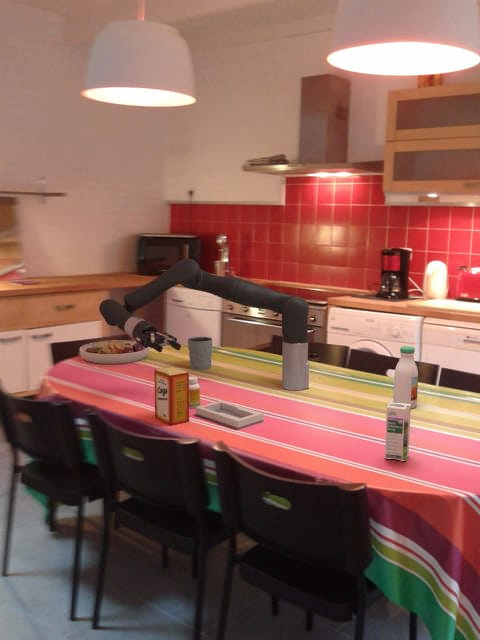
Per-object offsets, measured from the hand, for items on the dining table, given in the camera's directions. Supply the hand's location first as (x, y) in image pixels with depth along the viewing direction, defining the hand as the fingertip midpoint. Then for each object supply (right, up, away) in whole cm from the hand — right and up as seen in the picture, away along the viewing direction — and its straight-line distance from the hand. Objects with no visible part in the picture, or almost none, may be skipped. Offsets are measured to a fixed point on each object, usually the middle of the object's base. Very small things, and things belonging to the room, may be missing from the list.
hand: (170, 348), depth 226 cm
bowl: (-32, -7, +69) cm, 76 cm away
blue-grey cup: (+7, -10, +51) cm, 53 cm away
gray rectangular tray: (+20, -21, -15) cm, 33 cm away
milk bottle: (+79, -19, -1) cm, 81 cm away
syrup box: (+65, -27, -47) cm, 85 cm away
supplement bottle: (+7, -19, -2) cm, 21 cm away
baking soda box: (+2, -22, -17) cm, 27 cm away
